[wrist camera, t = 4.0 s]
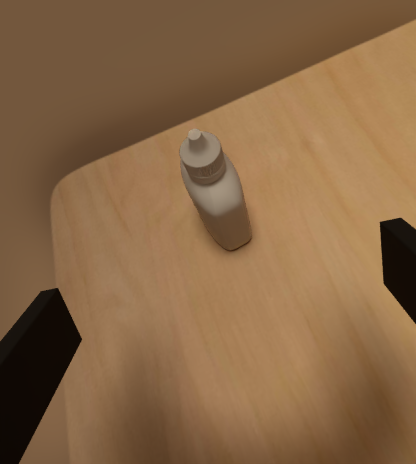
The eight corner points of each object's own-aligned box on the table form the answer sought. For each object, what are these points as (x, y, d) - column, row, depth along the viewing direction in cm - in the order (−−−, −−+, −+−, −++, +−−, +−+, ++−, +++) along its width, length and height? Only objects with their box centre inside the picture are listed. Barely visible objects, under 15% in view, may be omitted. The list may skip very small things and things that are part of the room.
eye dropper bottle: (252, 188, 31) (237, 88, 20) (251, 252, 29) (233, 180, 18) (202, 190, 32) (160, 94, 21) (197, 252, 30) (149, 182, 19)
